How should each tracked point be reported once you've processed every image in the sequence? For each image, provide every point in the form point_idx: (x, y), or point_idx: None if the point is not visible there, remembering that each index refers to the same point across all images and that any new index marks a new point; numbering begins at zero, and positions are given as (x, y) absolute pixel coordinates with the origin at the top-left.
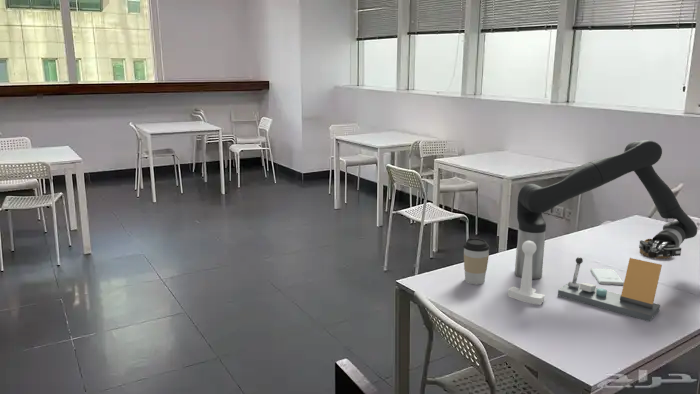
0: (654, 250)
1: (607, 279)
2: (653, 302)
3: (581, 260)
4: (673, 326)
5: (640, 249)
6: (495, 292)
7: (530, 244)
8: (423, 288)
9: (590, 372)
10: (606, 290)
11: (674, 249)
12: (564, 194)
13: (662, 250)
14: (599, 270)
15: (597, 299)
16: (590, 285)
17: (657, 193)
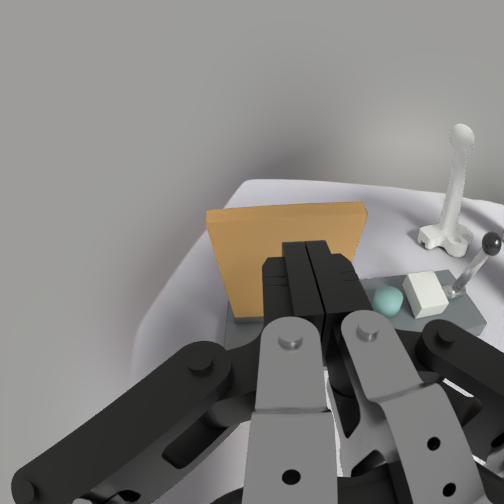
0: (303, 263)
1: (476, 459)
2: (233, 314)
3: (484, 237)
4: (179, 312)
5: None
6: (474, 234)
7: (454, 125)
8: (490, 206)
9: (254, 185)
10: (381, 302)
11: (89, 425)
12: None
13: (244, 356)
14: None
15: (370, 284)
16: (419, 285)
17: None
